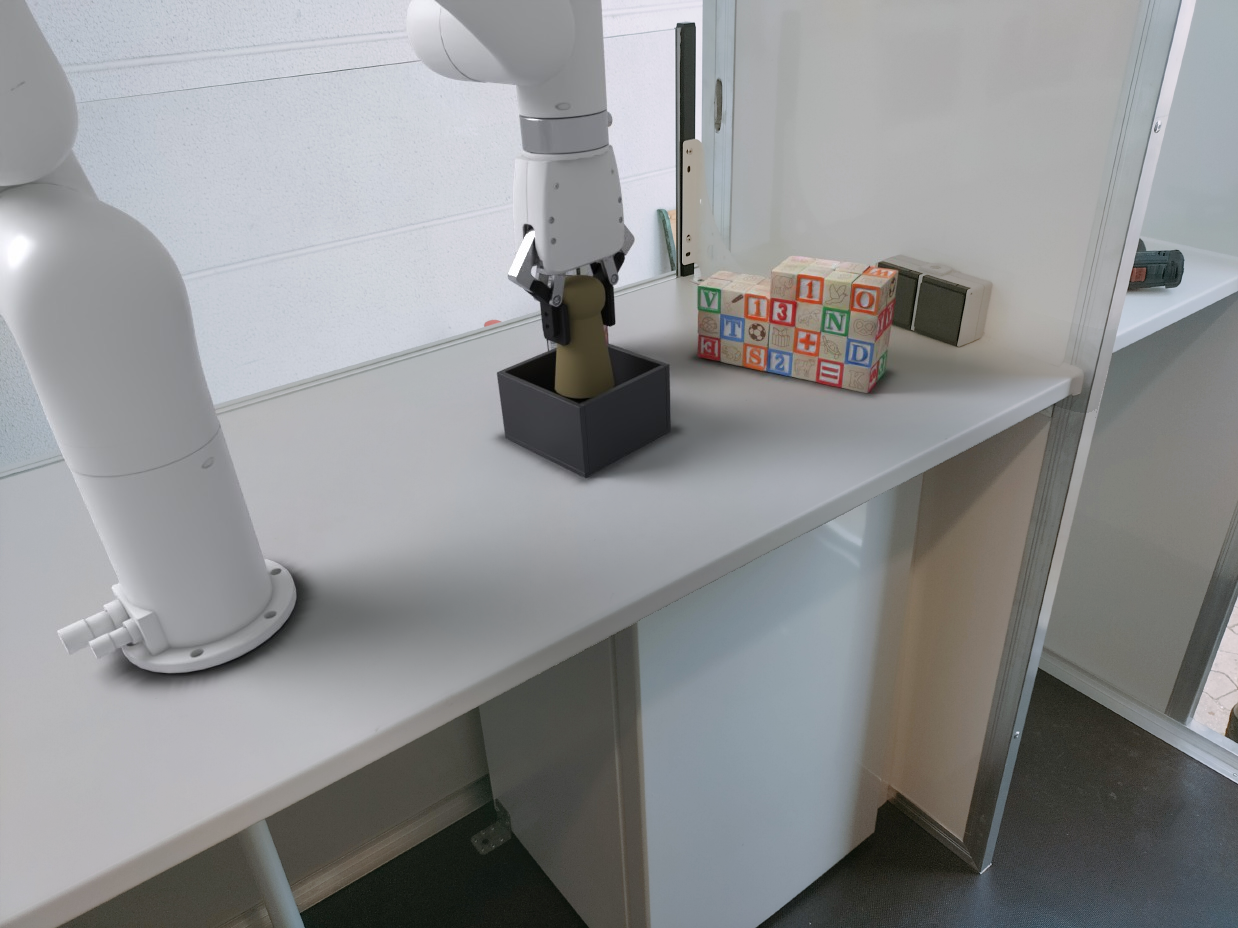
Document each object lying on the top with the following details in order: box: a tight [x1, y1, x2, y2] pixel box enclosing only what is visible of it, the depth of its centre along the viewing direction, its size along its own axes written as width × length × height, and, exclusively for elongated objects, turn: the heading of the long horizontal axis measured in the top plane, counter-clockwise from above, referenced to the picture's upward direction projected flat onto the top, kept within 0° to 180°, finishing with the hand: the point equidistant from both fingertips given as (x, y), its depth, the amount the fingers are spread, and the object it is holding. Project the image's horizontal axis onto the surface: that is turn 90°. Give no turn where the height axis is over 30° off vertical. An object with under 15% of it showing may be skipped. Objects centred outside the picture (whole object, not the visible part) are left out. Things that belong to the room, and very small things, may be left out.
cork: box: [555, 275, 615, 398], centre depth 83 cm, size 6×6×11 cm
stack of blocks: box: [696, 255, 899, 394], centre depth 97 cm, size 21×6×12 cm, turn 58°
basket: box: [496, 343, 672, 479], centre depth 86 cm, size 12×12×8 cm
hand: (580, 330), depth 82 cm, fingers closed on cork, 5 cm apart
